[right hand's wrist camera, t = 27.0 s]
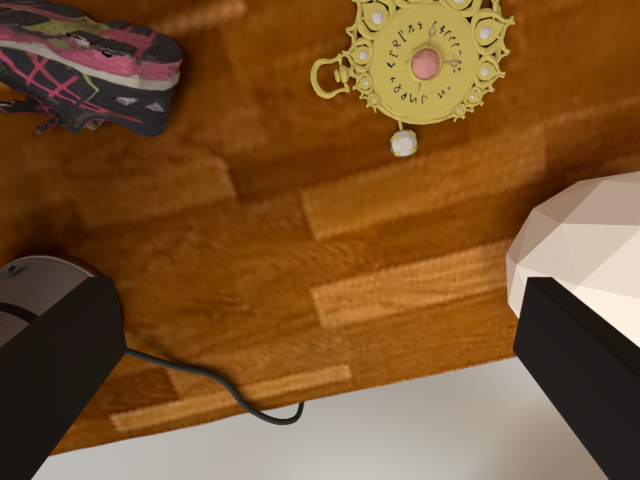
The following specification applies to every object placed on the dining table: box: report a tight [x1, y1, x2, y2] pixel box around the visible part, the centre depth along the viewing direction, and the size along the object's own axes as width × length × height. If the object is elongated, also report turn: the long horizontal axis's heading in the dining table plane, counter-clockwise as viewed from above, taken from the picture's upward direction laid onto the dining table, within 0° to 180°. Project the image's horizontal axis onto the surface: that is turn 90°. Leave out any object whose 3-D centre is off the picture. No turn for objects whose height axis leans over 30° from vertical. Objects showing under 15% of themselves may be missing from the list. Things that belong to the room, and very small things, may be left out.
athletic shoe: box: [0, 0, 182, 138], centre depth 36 cm, size 11×22×12 cm
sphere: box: [506, 171, 640, 347], centre depth 37 cm, size 19×20×20 cm
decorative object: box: [310, 0, 515, 157], centre depth 38 cm, size 21×2×20 cm
